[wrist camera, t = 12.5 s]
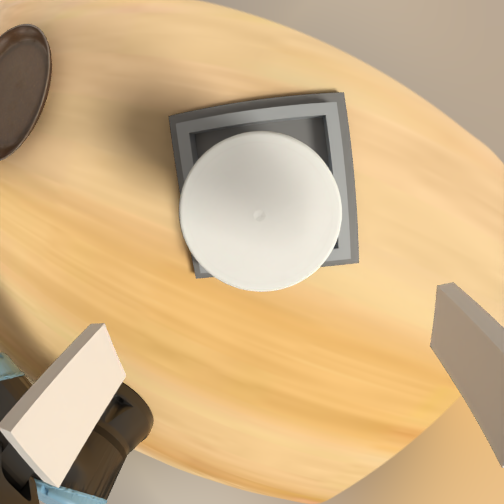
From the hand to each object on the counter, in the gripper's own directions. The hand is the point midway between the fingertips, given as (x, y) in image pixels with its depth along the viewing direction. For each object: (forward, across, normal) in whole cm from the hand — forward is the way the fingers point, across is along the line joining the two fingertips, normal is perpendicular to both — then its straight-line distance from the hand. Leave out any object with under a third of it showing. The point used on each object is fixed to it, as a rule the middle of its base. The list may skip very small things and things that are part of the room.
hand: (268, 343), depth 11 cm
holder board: (+23, 0, +4) cm, 23 cm away
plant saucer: (+24, -34, +25) cm, 48 cm away
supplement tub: (+22, 0, +3) cm, 22 cm away
